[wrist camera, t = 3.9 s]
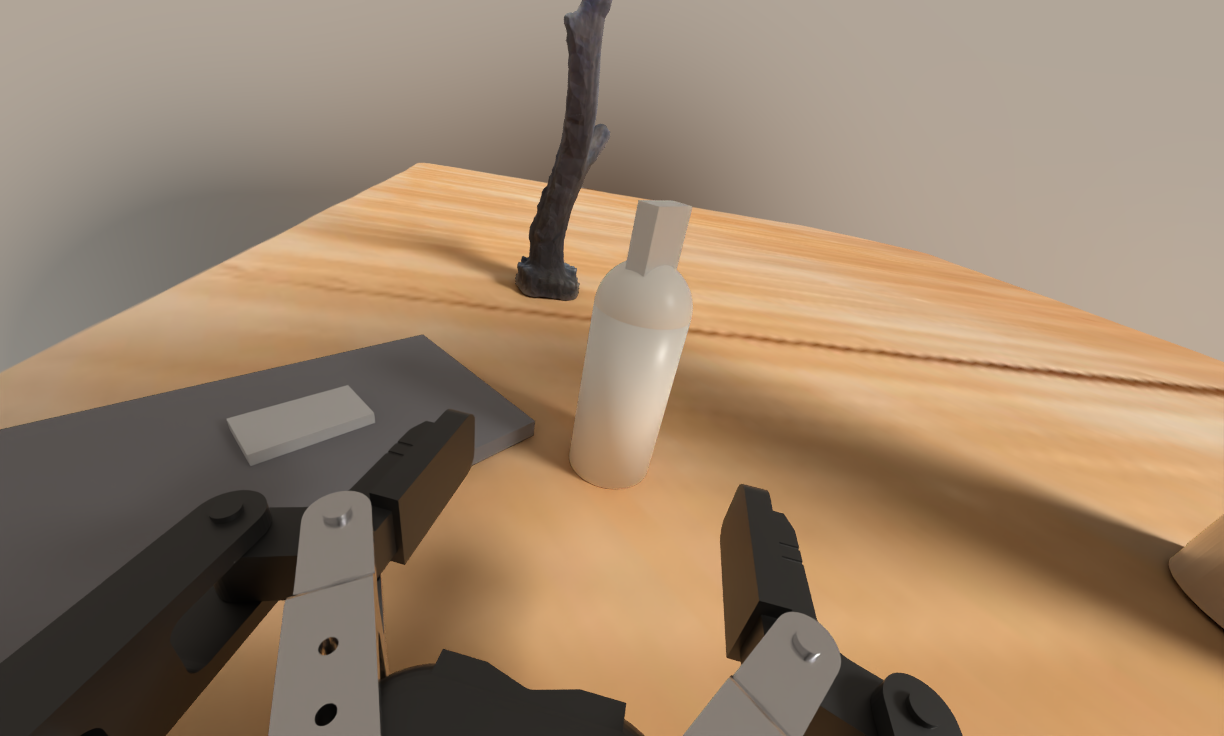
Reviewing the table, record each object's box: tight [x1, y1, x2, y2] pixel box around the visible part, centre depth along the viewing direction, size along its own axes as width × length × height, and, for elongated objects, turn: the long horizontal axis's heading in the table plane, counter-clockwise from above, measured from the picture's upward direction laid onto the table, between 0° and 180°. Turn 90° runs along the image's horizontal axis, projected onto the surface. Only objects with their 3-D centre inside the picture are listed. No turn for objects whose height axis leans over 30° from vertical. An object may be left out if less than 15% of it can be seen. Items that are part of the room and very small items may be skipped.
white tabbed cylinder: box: [569, 200, 693, 489], centre depth 20 cm, size 4×4×14 cm
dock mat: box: [0, 335, 535, 663], centre depth 21 cm, size 18×12×2 cm, turn 137°
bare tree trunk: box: [515, 0, 612, 300], centre depth 38 cm, size 12×8×25 cm
